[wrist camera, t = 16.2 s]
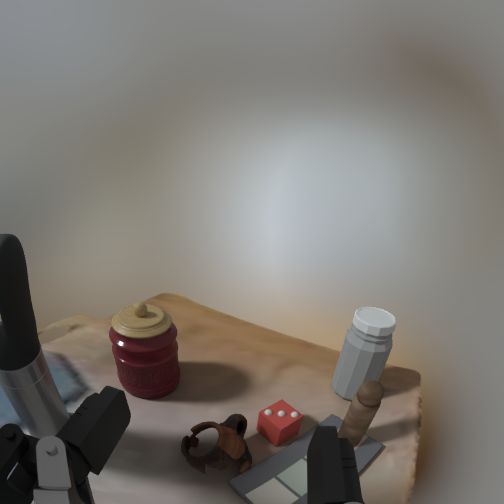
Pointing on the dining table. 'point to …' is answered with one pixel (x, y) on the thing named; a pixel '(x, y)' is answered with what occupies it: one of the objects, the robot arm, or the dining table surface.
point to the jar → (363, 351)
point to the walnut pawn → (361, 411)
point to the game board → (292, 470)
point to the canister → (145, 350)
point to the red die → (279, 422)
